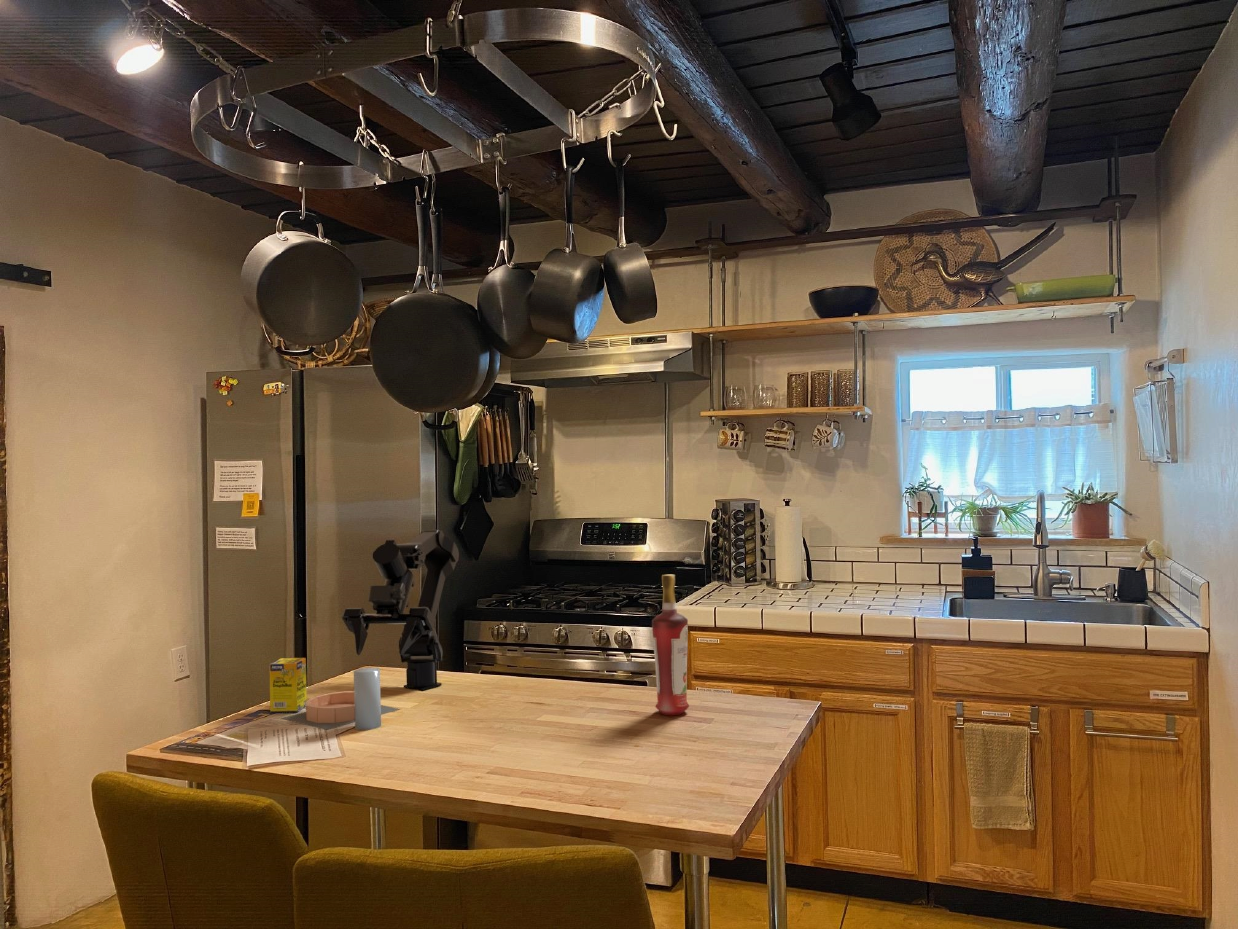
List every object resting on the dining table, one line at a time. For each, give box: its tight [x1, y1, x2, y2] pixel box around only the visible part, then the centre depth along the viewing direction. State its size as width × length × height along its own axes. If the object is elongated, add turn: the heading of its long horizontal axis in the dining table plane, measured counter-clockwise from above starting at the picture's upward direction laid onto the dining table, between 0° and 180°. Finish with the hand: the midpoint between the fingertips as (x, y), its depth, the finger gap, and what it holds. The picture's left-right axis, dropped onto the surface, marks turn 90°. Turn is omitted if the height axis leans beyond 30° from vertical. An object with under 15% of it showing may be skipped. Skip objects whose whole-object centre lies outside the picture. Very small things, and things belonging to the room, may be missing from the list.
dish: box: [304, 690, 355, 723], centre depth 190 cm, size 14×14×3 cm
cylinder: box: [353, 667, 382, 731], centre depth 180 cm, size 5×5×12 cm
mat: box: [280, 704, 401, 731], centre depth 190 cm, size 18×16×1 cm
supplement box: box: [268, 657, 308, 715], centre depth 195 cm, size 6×6×11 cm
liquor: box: [651, 574, 690, 717], centre depth 185 cm, size 7×7×28 cm
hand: (379, 654), depth 188 cm, fingers open, 9 cm apart
